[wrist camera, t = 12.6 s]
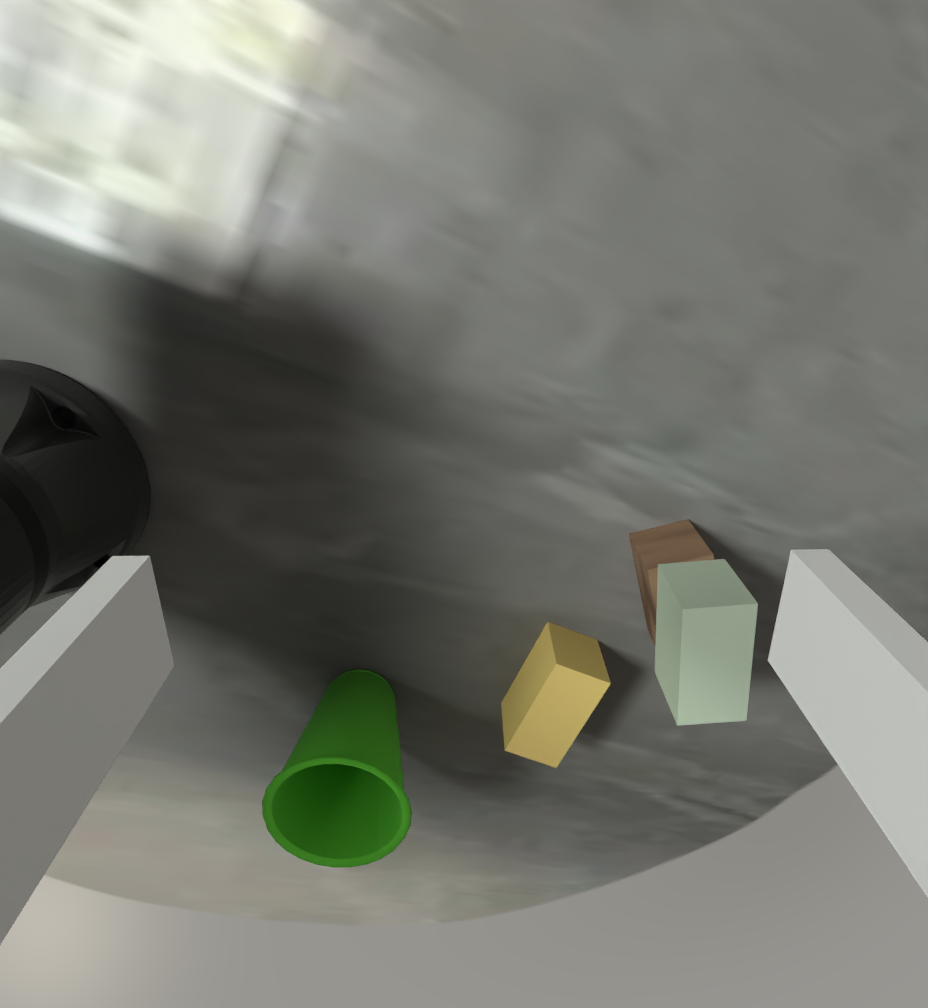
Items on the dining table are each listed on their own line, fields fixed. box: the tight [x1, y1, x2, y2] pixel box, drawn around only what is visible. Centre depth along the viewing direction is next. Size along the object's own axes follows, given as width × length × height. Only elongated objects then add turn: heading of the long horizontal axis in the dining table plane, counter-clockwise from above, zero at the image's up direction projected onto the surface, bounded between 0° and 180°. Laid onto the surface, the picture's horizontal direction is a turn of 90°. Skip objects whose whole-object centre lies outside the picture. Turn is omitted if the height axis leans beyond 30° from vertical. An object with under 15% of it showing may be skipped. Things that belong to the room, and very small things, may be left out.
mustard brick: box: [501, 622, 611, 768], centre depth 48 cm, size 8×4×5 cm, turn 157°
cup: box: [262, 670, 412, 867], centre depth 46 cm, size 9×9×11 cm
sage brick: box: [655, 559, 758, 726], centre depth 40 cm, size 8×4×5 cm, turn 5°
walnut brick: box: [629, 520, 714, 646], centre depth 45 cm, size 8×4×5 cm, turn 16°
